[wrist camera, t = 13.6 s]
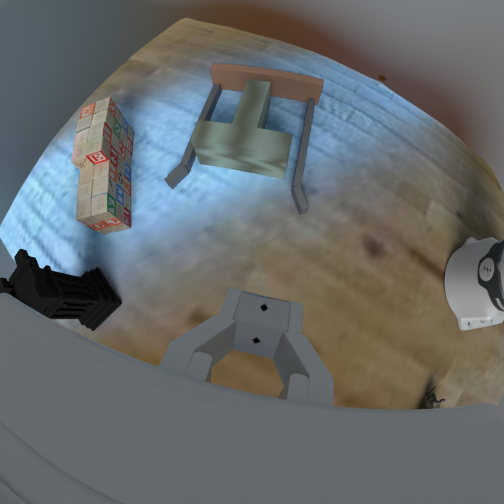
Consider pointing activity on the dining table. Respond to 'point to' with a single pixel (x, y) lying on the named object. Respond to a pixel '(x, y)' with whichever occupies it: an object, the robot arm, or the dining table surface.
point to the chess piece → (61, 292)
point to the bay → (280, 86)
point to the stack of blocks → (103, 167)
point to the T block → (244, 137)
